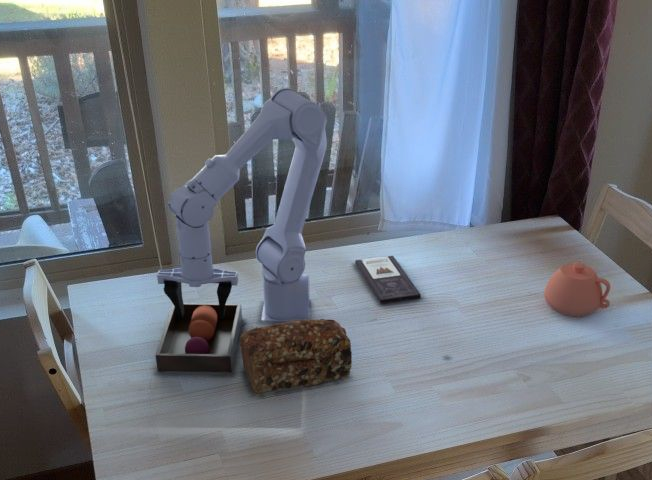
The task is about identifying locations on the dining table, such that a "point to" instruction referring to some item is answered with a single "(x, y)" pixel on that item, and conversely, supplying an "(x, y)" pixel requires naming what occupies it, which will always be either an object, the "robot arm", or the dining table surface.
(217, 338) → the dark wooden tray
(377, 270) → the chocolate bar
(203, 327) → the sweet potato
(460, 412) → the dining table surface
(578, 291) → the sugar bowl
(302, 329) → the bread
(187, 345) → the onion
